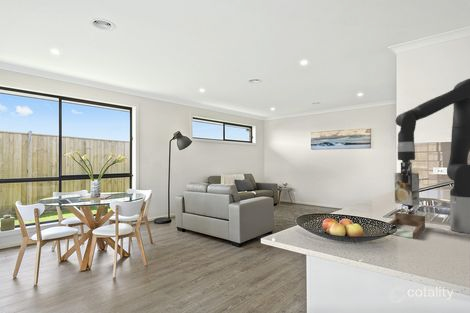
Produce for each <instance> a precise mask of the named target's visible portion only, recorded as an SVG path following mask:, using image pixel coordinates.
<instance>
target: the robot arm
mask: <svg viewBox="0 0 470 313" xmlns="http://www.w3.org/2000/svg"><path fill="white" fill-rule="evenodd" d="M451 105H453V113H452V126H451V140H450V141H451V143H450V153H449V154H450V155H449V160H448V164H447V170H446V173H447V177H448V178H449V180H451V181H453V187H452V189H450V190H449V191H450V192H449V213H450V214H449V216H450V217H449V218H450V219H449V220H450V222H449V227H450V230H452V231H453V232H458V233H465V234H470V164H468V160H469V159H468V158H469V153H470V78H467V79H465V80H462V81H459V82H458V83H456V85H454V87H453V89H451V90H449V91H447V92H445V93H443V94H440V95H439V96H436V97H434V98H431V99H429V100H427V101H425V102H423V103H421V104H418V105H417V106H416V107H413V108H411V109H409V110H407V111H404V112H402V113H400V114H398V115H397V116H396V118H395V124H396V126H399V127H400V130H399V131H398V133H397V161H402V162H400V173H401V174H402V175H403V176H402V182H403V183H408V173H413V167H412V165H413V164H412V163H413V162H412V161H416V145H415V130H416V124H417V121H419V120H422V119H424V118H427V117H429V116H431V115H434V114H435V113H438V112H439V111H441V110H444V109H445V108H447V107H449V106H451Z"/></svg>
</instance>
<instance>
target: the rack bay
mask: <svg viewBox="0 0 470 313" xmlns="http://www.w3.org/2000/svg"><path fill="white" fill-rule="evenodd" d="M394 214H395V215H394V218H393V219H392V220H390V221H389V222H388V223H389V224H392V225H395V226H394V227H396V226H397V225H404V226H409V227H416V228H414V230H413V231H412V230H406V229H401V228H400V229H399V228H396V229H397V232H396V233H395V234H393V235H392V236H396V237H402V238H407V239H413V240H417V239H418V237H419V236H420V234H422V232H423V231H424V229H425V228H426V216H425V215H419V214H412V213H404V212H397V211H396V212H394Z"/></svg>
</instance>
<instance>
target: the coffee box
mask: <svg viewBox="0 0 470 313" xmlns="http://www.w3.org/2000/svg"><path fill="white" fill-rule="evenodd" d="M419 175H420V173H416V172H412V173H408V183H403V182H402V176H403V175H402V174H401V172H394V203H395V204H399V205H406V206H412V207H413V206H419V205H420V176H419Z"/></svg>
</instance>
